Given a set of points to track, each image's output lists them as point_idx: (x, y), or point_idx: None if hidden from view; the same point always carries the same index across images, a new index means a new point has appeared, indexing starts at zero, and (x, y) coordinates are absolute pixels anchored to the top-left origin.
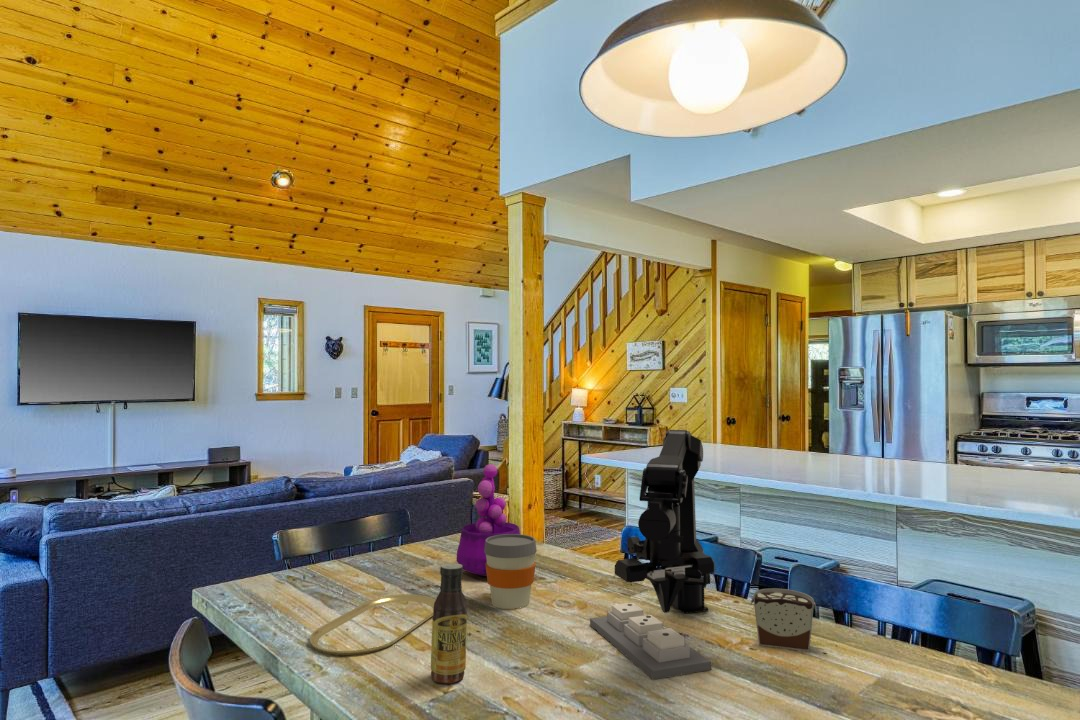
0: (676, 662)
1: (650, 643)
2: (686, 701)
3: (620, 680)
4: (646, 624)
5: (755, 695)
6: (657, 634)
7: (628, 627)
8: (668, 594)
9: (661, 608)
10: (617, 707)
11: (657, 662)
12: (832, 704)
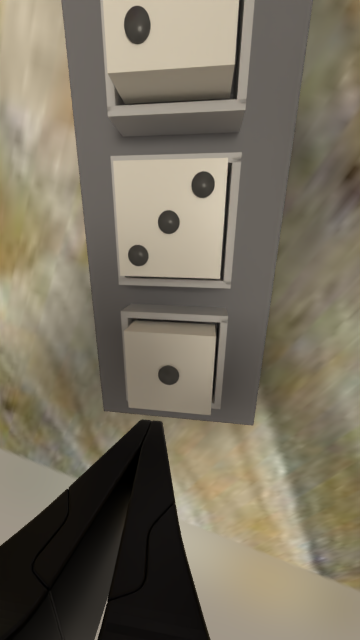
0: None
1: None
2: None
3: (50, 377)
4: (150, 269)
5: (250, 506)
6: (143, 365)
7: (114, 198)
8: (102, 605)
9: (134, 426)
10: (20, 447)
11: None
12: (342, 567)
